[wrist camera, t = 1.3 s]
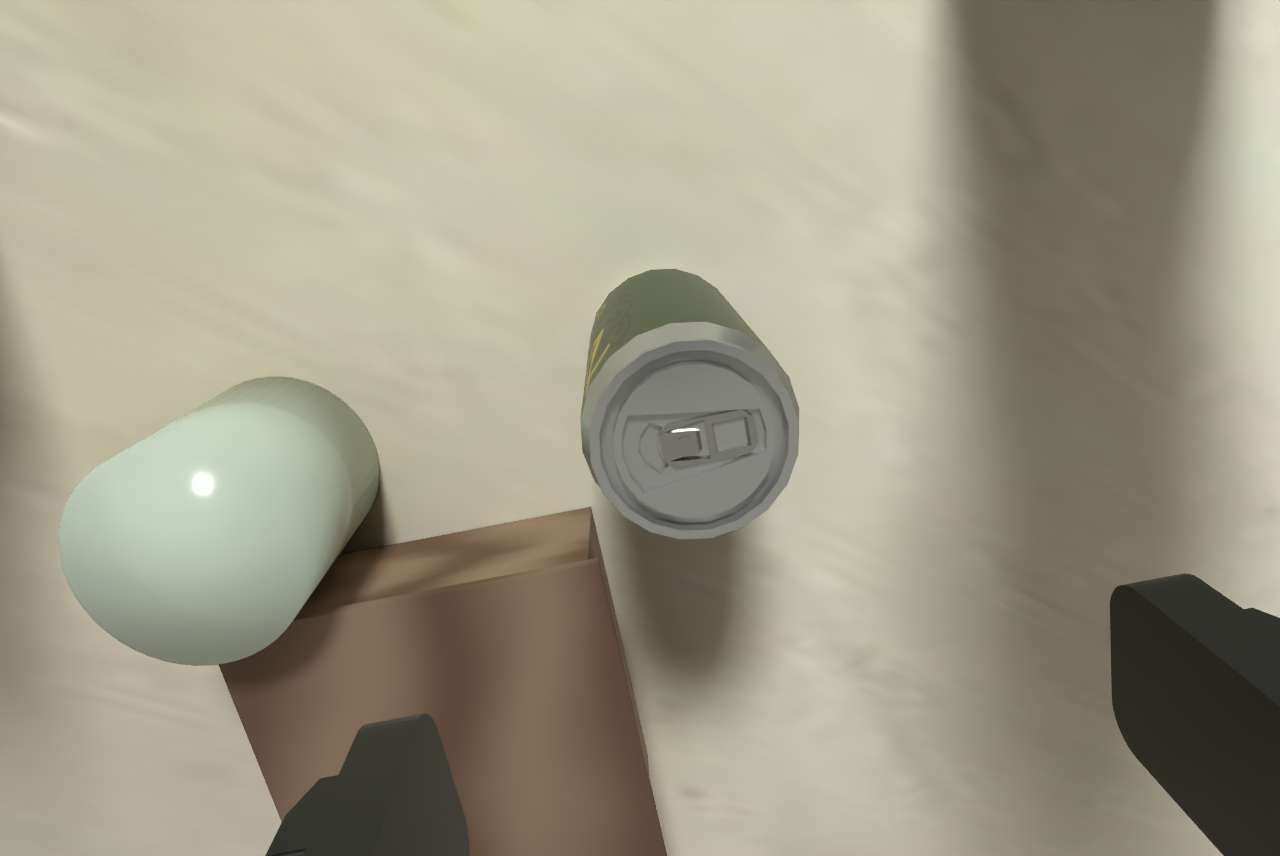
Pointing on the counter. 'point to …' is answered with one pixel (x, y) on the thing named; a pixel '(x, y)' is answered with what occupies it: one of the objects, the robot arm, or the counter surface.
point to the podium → (469, 684)
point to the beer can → (685, 409)
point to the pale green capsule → (220, 521)
